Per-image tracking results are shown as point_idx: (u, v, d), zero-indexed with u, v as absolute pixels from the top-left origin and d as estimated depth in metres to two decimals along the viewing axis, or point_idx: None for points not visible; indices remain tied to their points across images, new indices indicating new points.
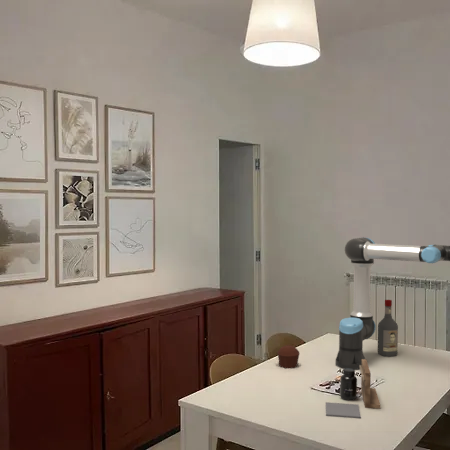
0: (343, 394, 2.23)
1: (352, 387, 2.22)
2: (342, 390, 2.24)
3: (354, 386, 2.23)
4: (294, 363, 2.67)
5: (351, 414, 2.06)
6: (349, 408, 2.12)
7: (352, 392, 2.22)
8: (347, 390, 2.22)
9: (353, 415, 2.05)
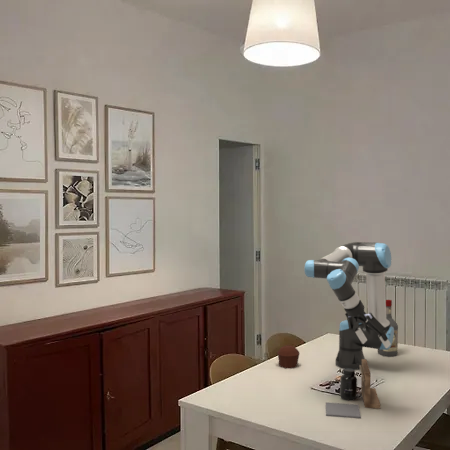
0: (343, 394, 2.23)
1: (352, 387, 2.22)
2: (342, 390, 2.24)
3: (354, 386, 2.23)
4: (294, 363, 2.67)
5: (351, 414, 2.06)
6: (349, 408, 2.12)
7: (352, 392, 2.22)
8: (347, 390, 2.22)
9: (353, 415, 2.05)
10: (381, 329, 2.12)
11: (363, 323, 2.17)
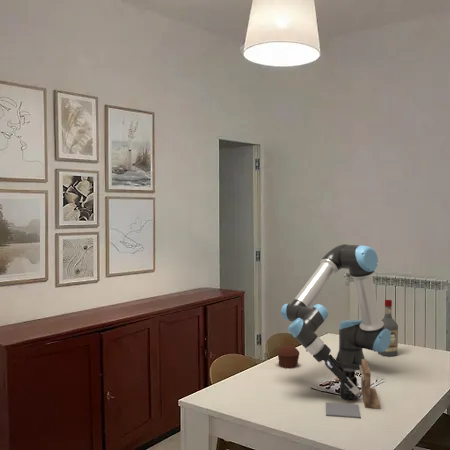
0: (343, 394, 2.23)
1: None
2: (342, 390, 2.24)
3: None
4: (294, 363, 2.67)
5: (351, 414, 2.06)
6: (349, 408, 2.12)
7: (352, 392, 2.22)
8: (347, 390, 2.22)
9: (353, 415, 2.05)
10: (341, 379, 2.19)
11: None
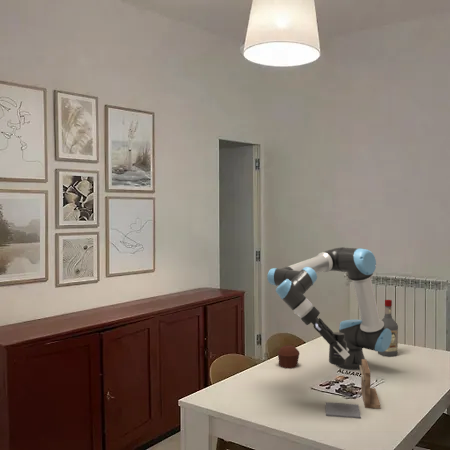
0: (332, 358, 2.13)
1: None
2: (331, 354, 2.13)
3: None
4: (294, 363, 2.67)
5: (351, 414, 2.06)
6: (349, 408, 2.12)
7: (341, 356, 2.12)
8: (336, 354, 2.12)
9: (353, 415, 2.05)
10: (329, 341, 2.08)
11: None
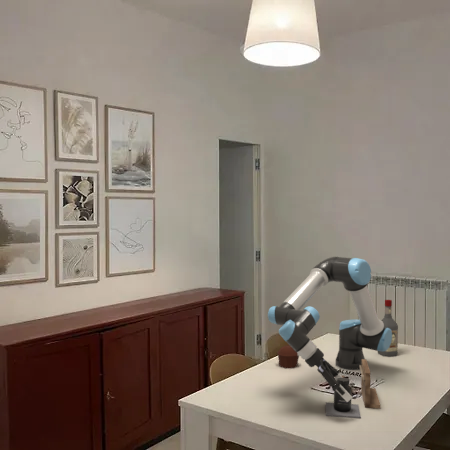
0: (337, 405, 2.09)
1: None
2: (336, 401, 2.09)
3: None
4: (294, 363, 2.67)
5: (351, 414, 2.06)
6: None
7: (346, 403, 2.08)
8: (341, 401, 2.08)
9: (353, 415, 2.05)
10: (331, 384, 2.02)
11: None
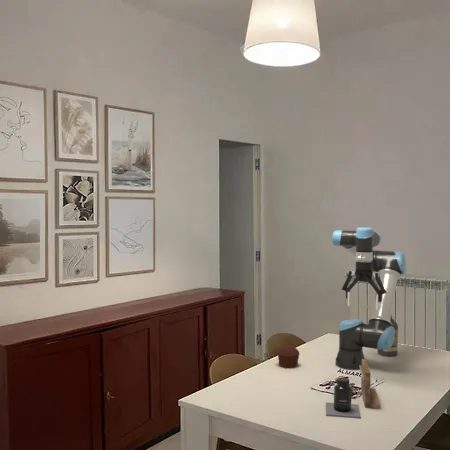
0: (337, 405, 2.09)
1: (346, 398, 2.08)
2: (336, 401, 2.09)
3: (348, 397, 2.08)
4: (294, 363, 2.67)
5: (351, 414, 2.06)
6: None
7: (346, 403, 2.08)
8: (341, 401, 2.08)
9: (353, 415, 2.05)
10: (383, 288, 2.39)
11: (367, 280, 2.42)
